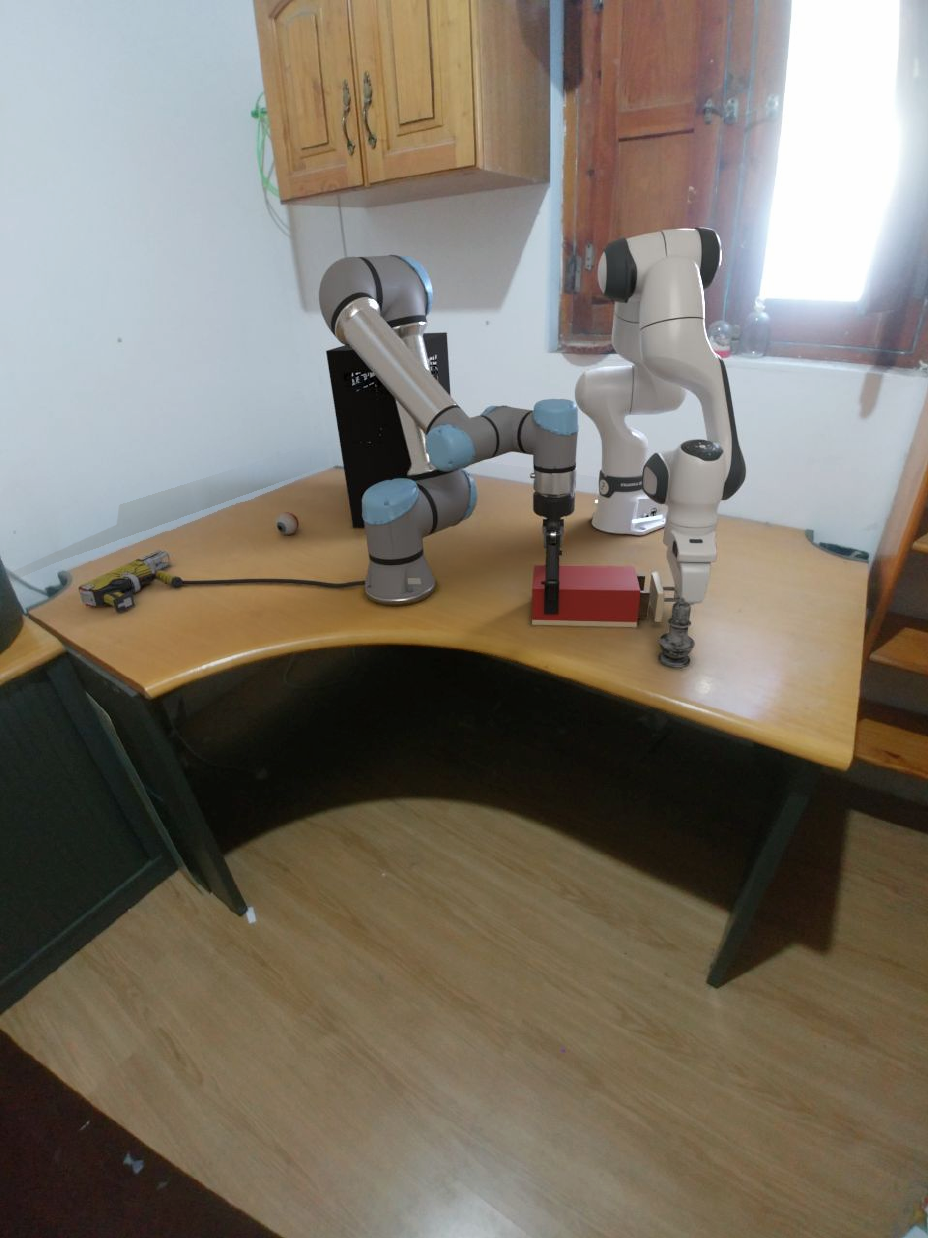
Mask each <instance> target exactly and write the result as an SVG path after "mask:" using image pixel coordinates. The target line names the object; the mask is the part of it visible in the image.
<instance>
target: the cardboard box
mask: <svg viewBox="0 0 928 1238" xmlns="http://www.w3.org/2000/svg"><path fill="white" fill-rule="evenodd" d="M423 340H424V344H425V348H426V353H427V357H428V361H429V366H430V370H431V374H432V376H433V377H434V378H435V379H436V380H437V381H438V382H439V384H440V385H441V386H442V387H443V388H444V389H445V391H446V392H447V393H448V394H449V395H450V396H451V380H450V364H449V363H450V362H449V361H450V360H449V344H448V332H446V331H445V332H444V331H443V332H424V333H423ZM325 354H326V361H327V366H328V374H329V381H330V386H331V392H332V400H333V406H334V407H333V408H334V412H335V421H336V426H337V432H338V439H339V446H340V452H341V459H342V465H343V473H344V478H345V484H346V492H347V499H348V504H349V510H350V517H351V524H352V528H364V529H365V525H364V520H363V517H362V498H363V495H364V493H365V492H366V491H367V490H368V489H369V488H370V487H371V486H373V485H375V484H377V483H379V482H382V481H386V480H393V479H397V478H405V479H408V477H407V472H408V470H409V468H410V467H411V460H410V456H409V452H408V448H407V444H406V440H405V436H404V433H403V429H402V425H401V421H400V417H399V413H398V409H397V405H396V401H395V398H394V396H393V395H392V394H391V393H390V392H389V391H388V389H387V388H386V387H385V386H384V385H383V384H382V382H381V381H380V380H379V379H378V378H377V376H376V375H375V374H374V373H373V372H372V371H371V369H370V368H369V367H368V366H367V365H366V363H365V362H364V361H363V360H362V359H361V358H360V356H359V355H358V354H357V353H356V352H355V350H354V349H353V348H352V347H351V346H348V345H344V344H343V345H341V346H338V347H334V348H331V349H328V350H325ZM430 358H431V359H430ZM451 397H452V396H451Z"/></svg>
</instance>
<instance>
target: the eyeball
mask: <svg viewBox="0 0 928 1238" xmlns="http://www.w3.org/2000/svg"><path fill="white" fill-rule="evenodd" d="M299 525H300V522H299V519H298V517H297V516H296V515H295V514H294V513H292V512H287V511H286V512H282V513H280V514H279V515H278V516H277V517H276V520H275V527H276V529H277V530H278V531H279V532H280V533H281V534H282V535H285V536H286V535H287V536H289V535H293V534H295V533H296V532H297V531H298V529H299Z"/></svg>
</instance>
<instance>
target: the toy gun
mask: <svg viewBox="0 0 928 1238" xmlns="http://www.w3.org/2000/svg"><path fill="white" fill-rule="evenodd" d="M166 558H167V559H168V562H167V561H163V559H166ZM171 564H172V563H171V558H170V554H169V552H168V551H166V550H163V551H162V550H161V549H159V550H156V551H155V552H153V553H150V554H148V555H145V556H143V557H142V558H136V559H135V560H133V561H130V562H129V563H126V564H124V565H122V566H120V567H118V568H115V569H113V570H111V571H109V572H107V573H104V574H102V575H101V576H97V577H96V578H93V579H91V580H89V581H87V582H85V583H83V584H81V585H79V586H78V592H79V595H80V599H81V602H82V603H83V604H84V605H85V607H89V608H93V607H105V606H108V605H111V606H112V607H114V610H115V613H116V614H119V613H122V612H124V611H127V610H129V609H131V608H134V607H136V606H135V605H136V604H135V601H134V596H133V595H134V594H136V593H138V592H139V591H141V587H142V586H145V585H147V584H150V583H154V581H155V580H157V581H160V582H162V583H164V584H165V583H167V584H166V585H168V586H172V588H175V589H177V588H180V587H181V586H182V585H183V584H182V581H183V579H182V578H181V577H180V576H175V575H174V574H170V573H168V572H167V571H164V568H166V567H169V566H171Z"/></svg>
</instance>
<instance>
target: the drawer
mask: <svg viewBox="0 0 928 1238" xmlns="http://www.w3.org/2000/svg"><path fill="white" fill-rule="evenodd" d="M636 575H637V579H638V583H639V587H640V600H639V610H638V619H648V614H649V606H650V610H651V614H652V618H653V621H654V623H662V619H663V611H664V605H665V604H664V603H676V602H679V601H681V600H680V598H674V597H665V595H666V593H665V591H666V592H669V591H670V592H674V590H675V588H674V586H663V584H662V580H661V578H660V575H659V572H658V571H652V572H651V574H650V582H649V590H645V583H646V574H637V573H636ZM688 604H689V605H690V606H693V605H694V604H692V603H688Z"/></svg>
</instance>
